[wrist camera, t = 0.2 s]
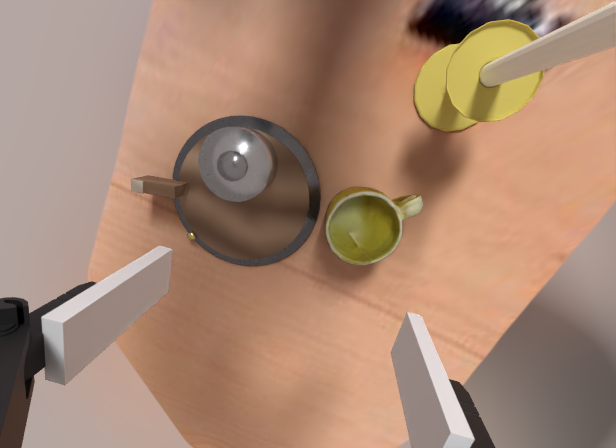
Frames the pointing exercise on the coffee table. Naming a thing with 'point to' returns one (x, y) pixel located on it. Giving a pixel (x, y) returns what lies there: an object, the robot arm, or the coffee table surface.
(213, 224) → the platter
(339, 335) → the coffee table surface
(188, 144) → the susan base
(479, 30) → the candle
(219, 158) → the cover
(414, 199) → the mug
